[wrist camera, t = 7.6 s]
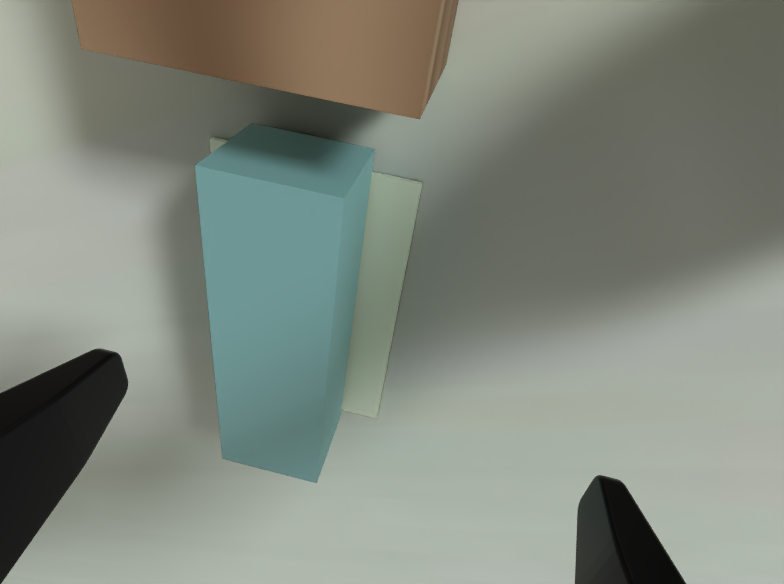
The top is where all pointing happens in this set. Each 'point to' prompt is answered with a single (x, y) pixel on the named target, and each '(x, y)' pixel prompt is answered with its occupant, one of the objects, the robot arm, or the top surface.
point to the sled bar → (281, 289)
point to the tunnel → (286, 44)
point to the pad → (376, 286)
